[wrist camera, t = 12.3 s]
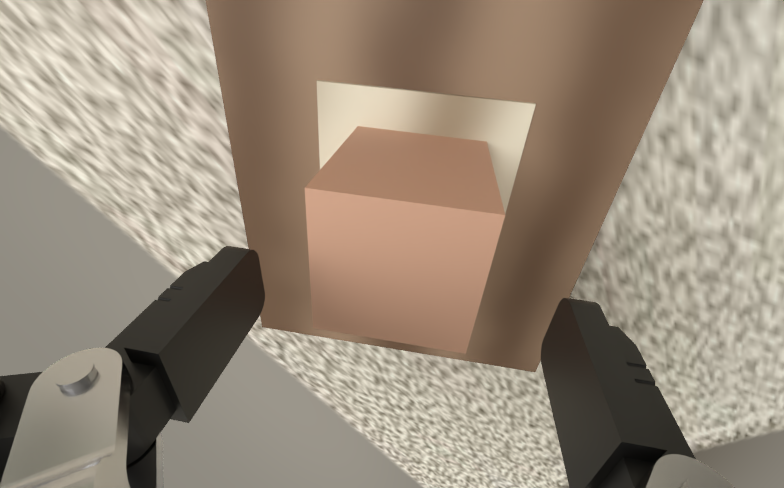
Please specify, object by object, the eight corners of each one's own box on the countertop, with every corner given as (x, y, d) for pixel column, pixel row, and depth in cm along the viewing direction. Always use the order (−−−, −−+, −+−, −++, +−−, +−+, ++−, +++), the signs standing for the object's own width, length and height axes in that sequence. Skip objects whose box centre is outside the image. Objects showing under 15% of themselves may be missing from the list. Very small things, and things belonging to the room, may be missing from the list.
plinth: (694, -95, 12) (764, -126, 9) (526, 332, 23) (535, 375, 20) (231, -122, 13) (174, -157, 10) (282, 294, 24) (260, 329, 21)
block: (486, 141, 14) (505, 215, 9) (462, 250, 16) (465, 353, 11) (357, 125, 14) (304, 187, 9) (354, 234, 17) (312, 327, 12)
